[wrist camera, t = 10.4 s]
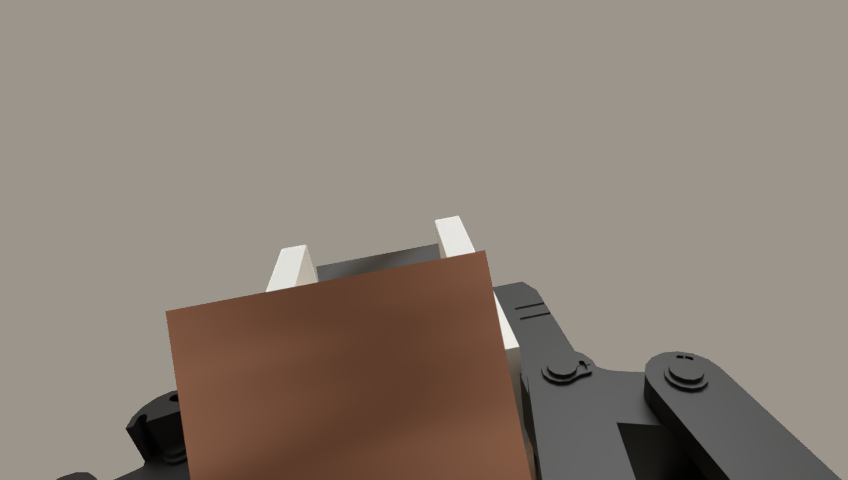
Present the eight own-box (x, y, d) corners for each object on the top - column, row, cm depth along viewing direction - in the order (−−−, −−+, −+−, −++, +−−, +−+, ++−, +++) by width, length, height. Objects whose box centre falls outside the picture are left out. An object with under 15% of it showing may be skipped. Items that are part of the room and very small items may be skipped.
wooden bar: (216, 652, 6) (166, 311, 6) (369, 367, 24) (354, 286, 24) (552, 580, 6) (484, 250, 6) (450, 352, 24) (434, 271, 24)
